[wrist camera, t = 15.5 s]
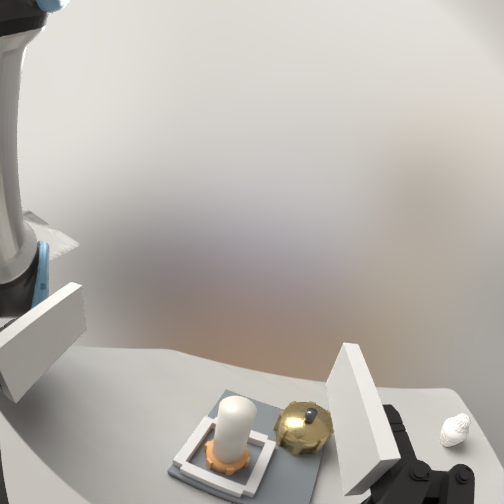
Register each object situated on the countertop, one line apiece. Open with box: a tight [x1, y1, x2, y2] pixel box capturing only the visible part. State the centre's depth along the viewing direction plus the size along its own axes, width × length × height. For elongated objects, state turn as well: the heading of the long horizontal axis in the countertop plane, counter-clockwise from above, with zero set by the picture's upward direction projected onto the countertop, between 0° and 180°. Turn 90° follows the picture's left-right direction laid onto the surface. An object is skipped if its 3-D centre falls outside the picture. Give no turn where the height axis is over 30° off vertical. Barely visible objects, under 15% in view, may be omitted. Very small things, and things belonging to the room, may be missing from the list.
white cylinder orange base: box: [204, 396, 257, 476], centre depth 28 cm, size 6×6×12 cm
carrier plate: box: [168, 390, 324, 504], centre depth 32 cm, size 18×19×2 cm
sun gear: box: [273, 401, 334, 456], centre depth 34 cm, size 8×8×6 cm
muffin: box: [440, 414, 471, 447], centre depth 31 cm, size 6×6×7 cm
